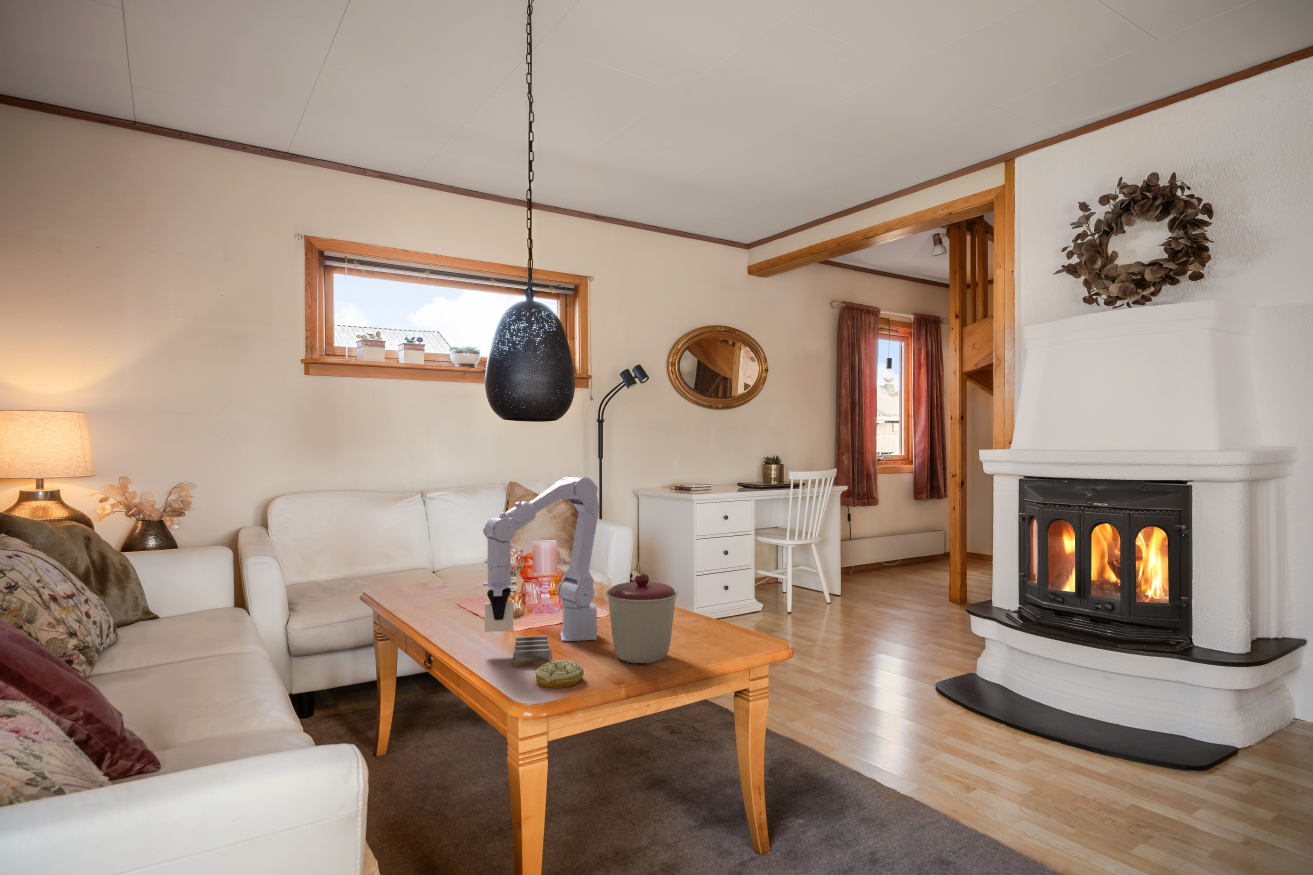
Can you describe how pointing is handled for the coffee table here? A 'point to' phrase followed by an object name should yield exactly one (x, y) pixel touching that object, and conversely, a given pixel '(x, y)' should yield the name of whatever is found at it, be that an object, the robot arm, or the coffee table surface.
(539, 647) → the dish rack
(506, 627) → the upright cream panel
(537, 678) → the decorated donut
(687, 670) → the coffee table surface
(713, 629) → the coffee table surface
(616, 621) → the canister
